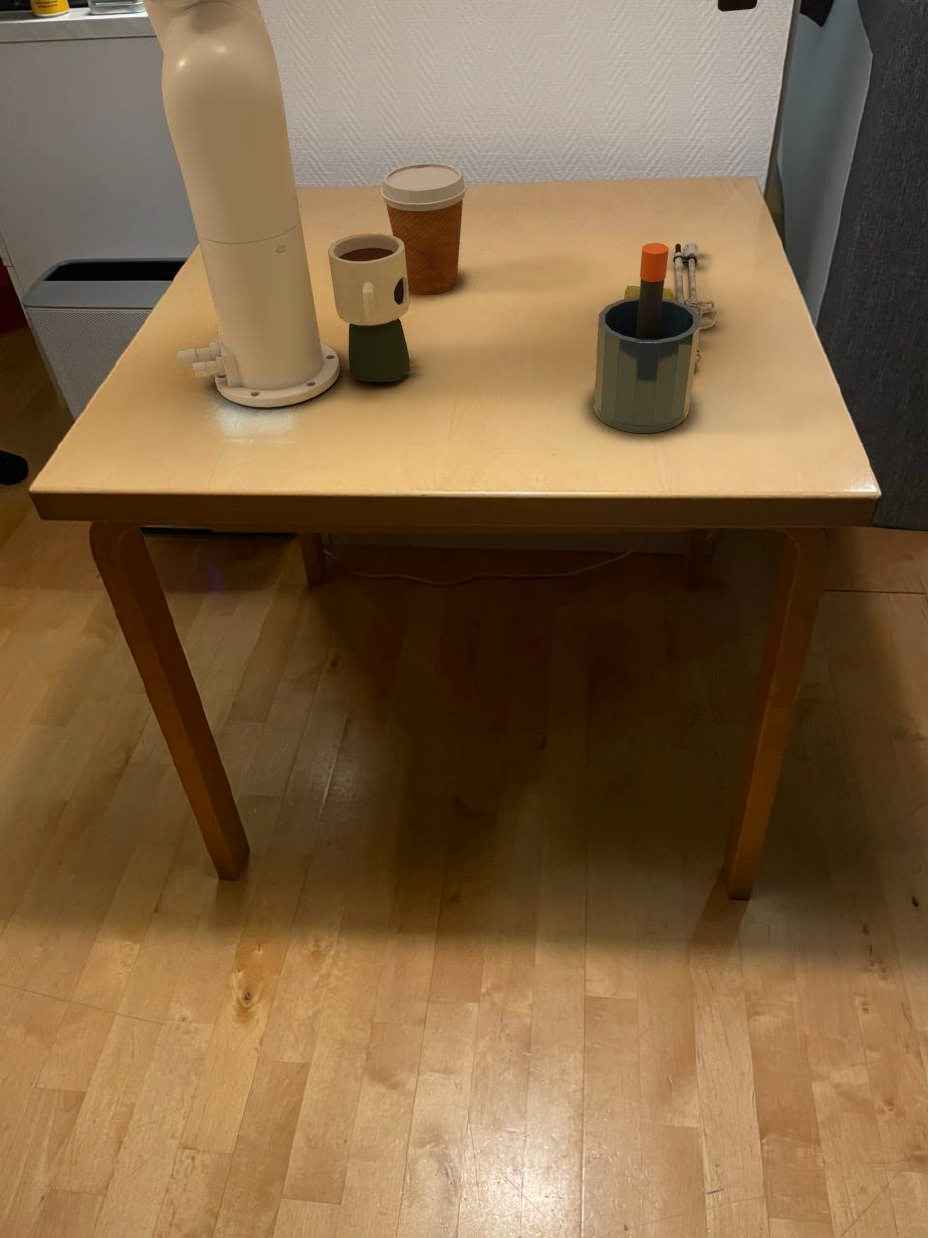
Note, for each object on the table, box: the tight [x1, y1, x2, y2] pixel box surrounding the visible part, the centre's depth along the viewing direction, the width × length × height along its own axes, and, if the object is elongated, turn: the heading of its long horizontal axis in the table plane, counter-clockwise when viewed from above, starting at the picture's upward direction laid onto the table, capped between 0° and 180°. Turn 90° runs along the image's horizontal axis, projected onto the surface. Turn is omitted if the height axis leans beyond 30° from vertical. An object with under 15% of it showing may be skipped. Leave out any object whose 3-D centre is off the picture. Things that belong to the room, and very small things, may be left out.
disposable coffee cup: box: [379, 162, 468, 295], centre depth 110 cm, size 10×10×12 cm
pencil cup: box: [593, 297, 701, 434], centre depth 89 cm, size 9×9×9 cm
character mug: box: [327, 232, 411, 383], centre depth 94 cm, size 11×7×13 cm, turn 3°
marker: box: [636, 242, 670, 340], centre depth 86 cm, size 2×2×14 cm
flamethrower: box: [623, 241, 719, 363], centre depth 105 cm, size 29×3×10 cm
